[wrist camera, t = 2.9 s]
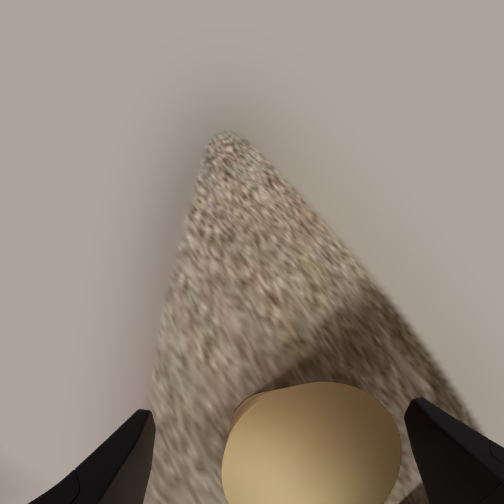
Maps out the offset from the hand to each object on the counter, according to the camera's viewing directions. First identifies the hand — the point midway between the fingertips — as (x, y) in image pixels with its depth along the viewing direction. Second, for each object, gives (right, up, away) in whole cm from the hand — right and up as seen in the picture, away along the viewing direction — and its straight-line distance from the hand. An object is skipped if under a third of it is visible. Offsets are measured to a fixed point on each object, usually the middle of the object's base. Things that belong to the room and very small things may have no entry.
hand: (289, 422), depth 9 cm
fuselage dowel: (0, -4, +6) cm, 7 cm away
